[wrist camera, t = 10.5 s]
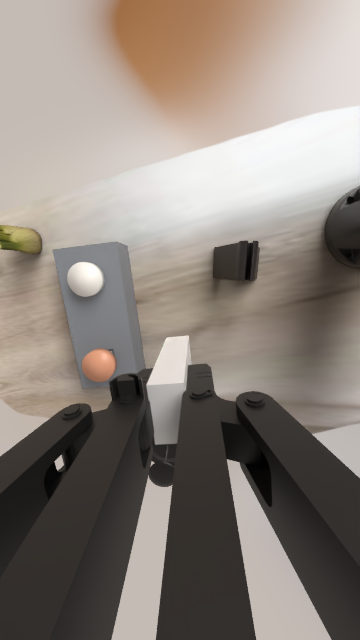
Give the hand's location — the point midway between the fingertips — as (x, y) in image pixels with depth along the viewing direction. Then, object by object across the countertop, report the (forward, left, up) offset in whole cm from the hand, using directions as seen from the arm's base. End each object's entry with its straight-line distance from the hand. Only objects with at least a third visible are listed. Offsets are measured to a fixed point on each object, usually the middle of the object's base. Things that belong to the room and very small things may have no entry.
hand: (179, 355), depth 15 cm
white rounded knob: (+18, -6, -33) cm, 38 cm away
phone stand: (-10, -6, -35) cm, 37 cm away
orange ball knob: (+18, +10, -32) cm, 38 cm away
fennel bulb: (+32, -15, -35) cm, 49 cm away
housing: (+18, +2, -34) cm, 39 cm away
